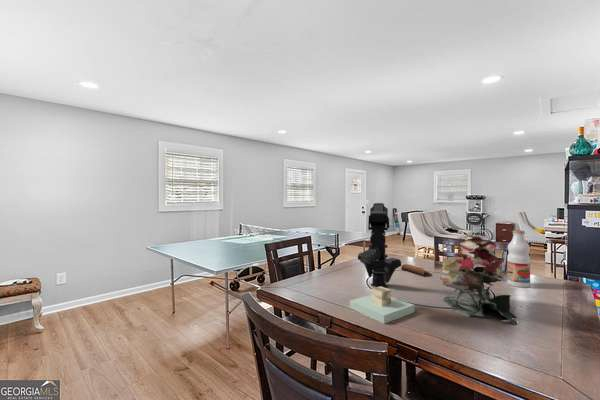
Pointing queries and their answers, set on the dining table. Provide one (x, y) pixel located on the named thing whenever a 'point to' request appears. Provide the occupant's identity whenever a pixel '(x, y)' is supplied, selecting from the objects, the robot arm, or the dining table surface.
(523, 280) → the fruit juice
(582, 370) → the dining table surface
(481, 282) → the rose bouquet
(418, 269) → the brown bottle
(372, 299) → the maple cube
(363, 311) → the platform
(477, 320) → the dining table surface
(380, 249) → the robot arm
